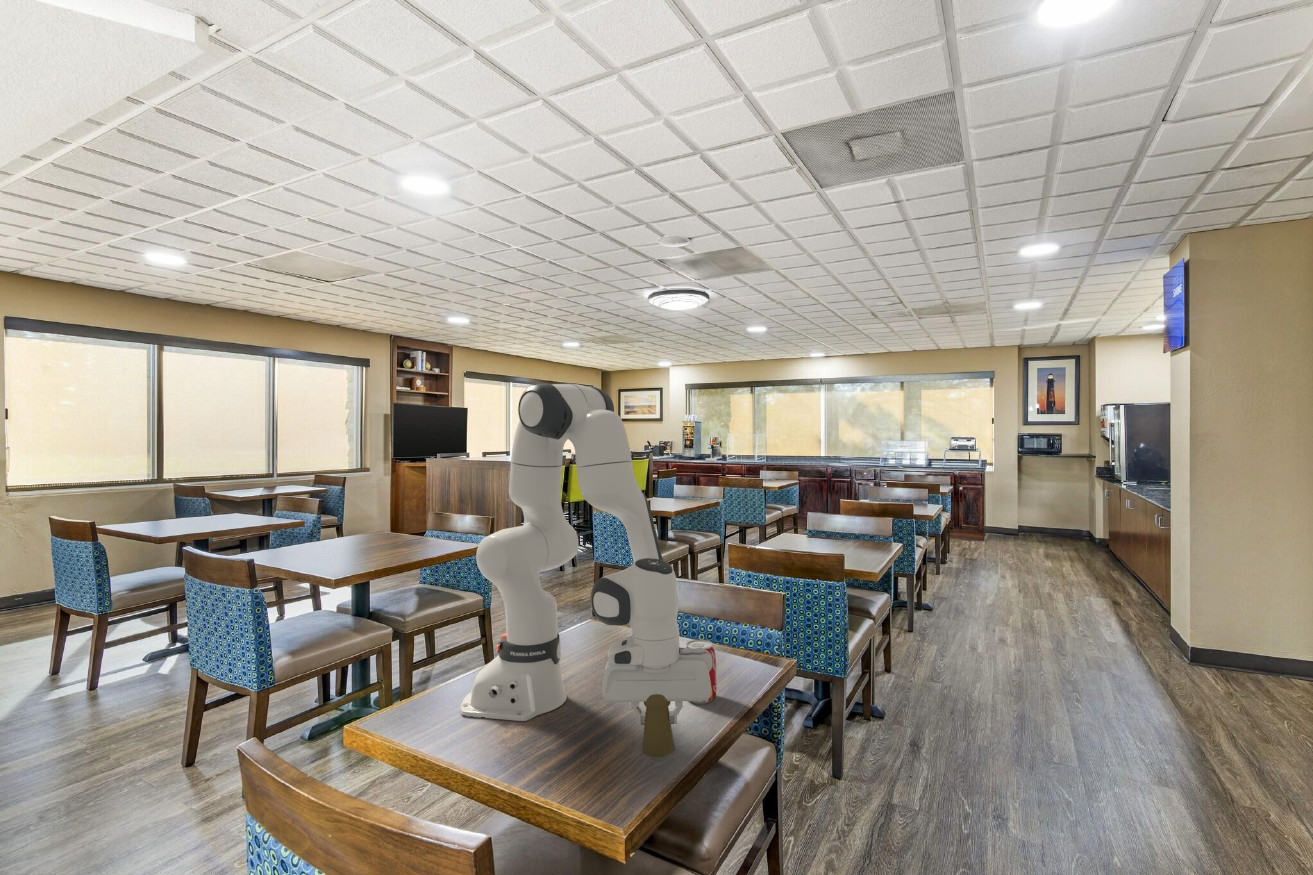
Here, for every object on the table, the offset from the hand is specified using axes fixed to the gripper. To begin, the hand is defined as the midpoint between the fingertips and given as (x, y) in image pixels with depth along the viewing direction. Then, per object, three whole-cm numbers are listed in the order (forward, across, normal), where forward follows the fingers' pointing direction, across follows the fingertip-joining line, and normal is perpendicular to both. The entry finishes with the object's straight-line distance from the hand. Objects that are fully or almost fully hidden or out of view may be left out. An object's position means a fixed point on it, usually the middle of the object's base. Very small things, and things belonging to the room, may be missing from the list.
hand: (657, 723), depth 107 cm
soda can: (+5, -9, -20) cm, 22 cm away
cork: (+5, 0, 0) cm, 5 cm away
